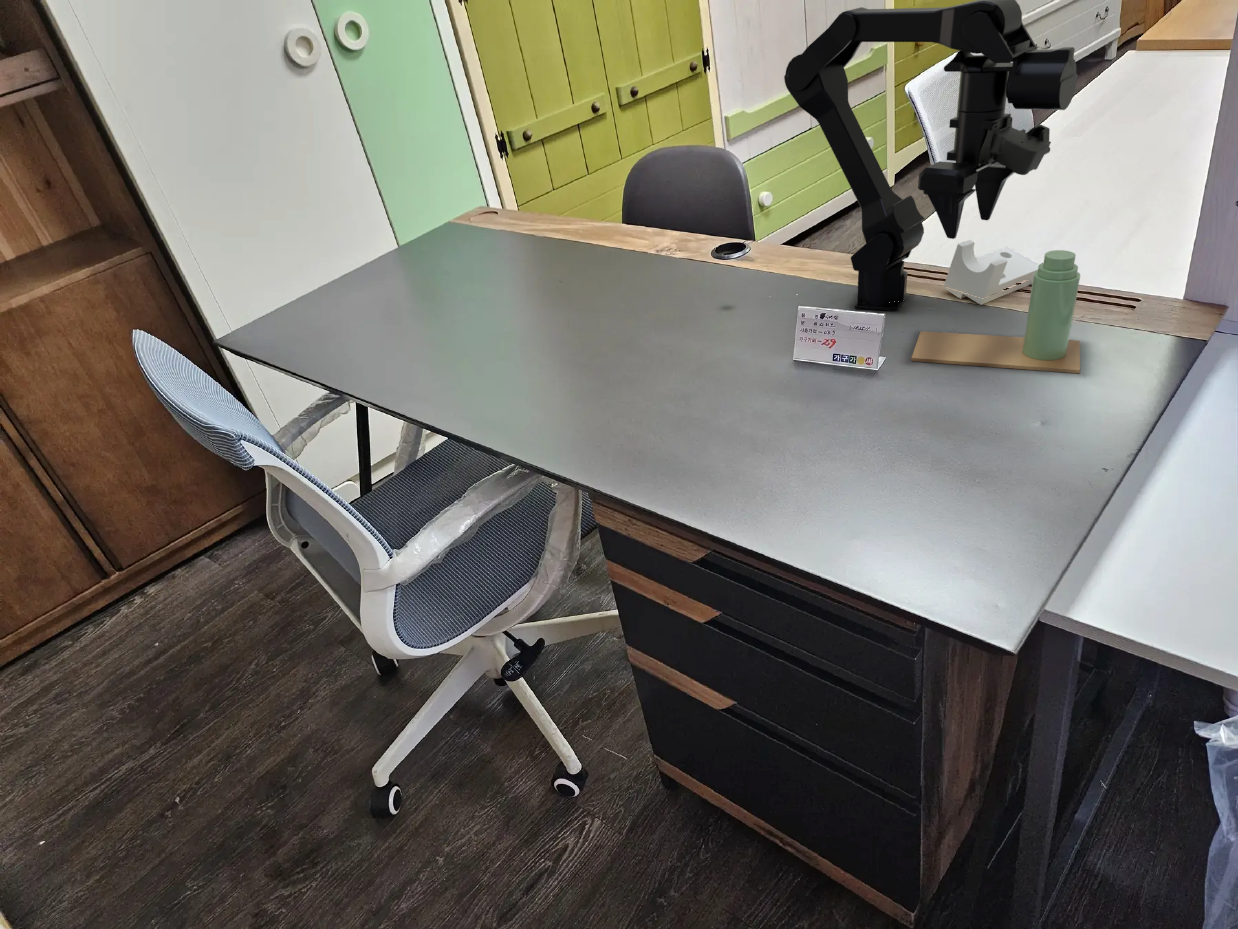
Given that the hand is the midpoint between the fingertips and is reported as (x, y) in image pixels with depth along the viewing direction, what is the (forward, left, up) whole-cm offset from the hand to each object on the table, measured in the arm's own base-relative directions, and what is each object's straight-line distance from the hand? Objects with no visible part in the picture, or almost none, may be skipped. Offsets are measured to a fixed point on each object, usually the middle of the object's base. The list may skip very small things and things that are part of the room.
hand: (968, 228), depth 116 cm
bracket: (+4, +12, -13) cm, 18 cm away
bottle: (+11, -11, -12) cm, 20 cm away
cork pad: (+5, -12, -13) cm, 18 cm away
